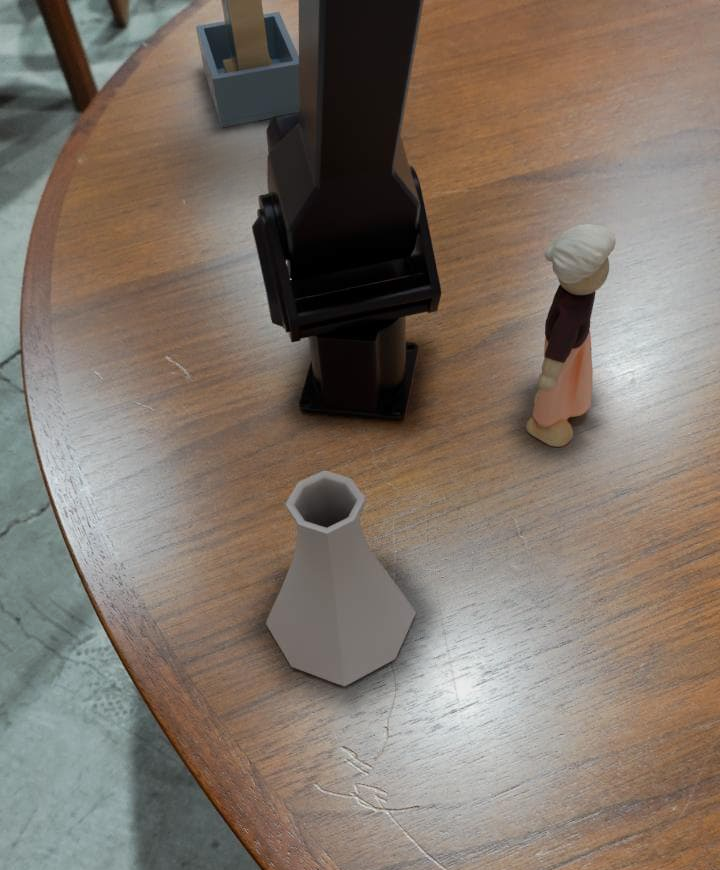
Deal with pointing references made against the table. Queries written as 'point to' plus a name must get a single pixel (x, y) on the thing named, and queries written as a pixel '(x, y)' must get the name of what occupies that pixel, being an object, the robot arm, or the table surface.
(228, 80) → the holder
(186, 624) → the table surface
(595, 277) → the grandmother figurine
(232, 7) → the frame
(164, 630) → the table surface
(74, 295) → the table surface
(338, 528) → the flask
